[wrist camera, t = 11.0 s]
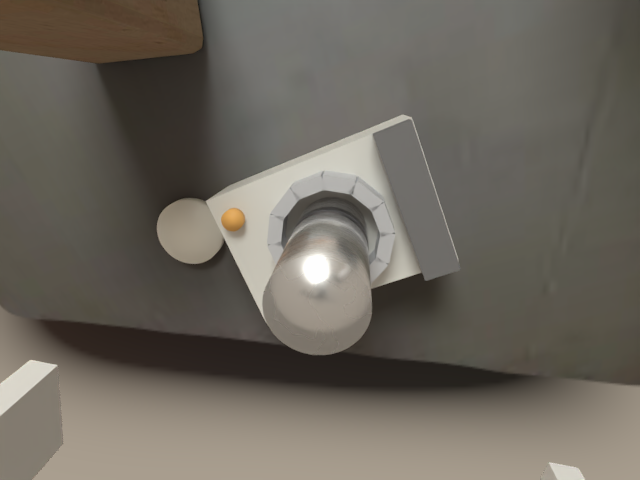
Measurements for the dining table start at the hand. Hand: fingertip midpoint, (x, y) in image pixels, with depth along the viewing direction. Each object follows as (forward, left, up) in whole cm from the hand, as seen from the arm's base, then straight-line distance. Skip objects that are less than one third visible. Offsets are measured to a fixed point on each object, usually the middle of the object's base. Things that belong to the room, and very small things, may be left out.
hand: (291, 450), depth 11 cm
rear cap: (+13, -3, -27) cm, 30 cm away
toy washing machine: (0, 0, -27) cm, 27 cm away
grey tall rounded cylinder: (0, 0, -21) cm, 21 cm away
